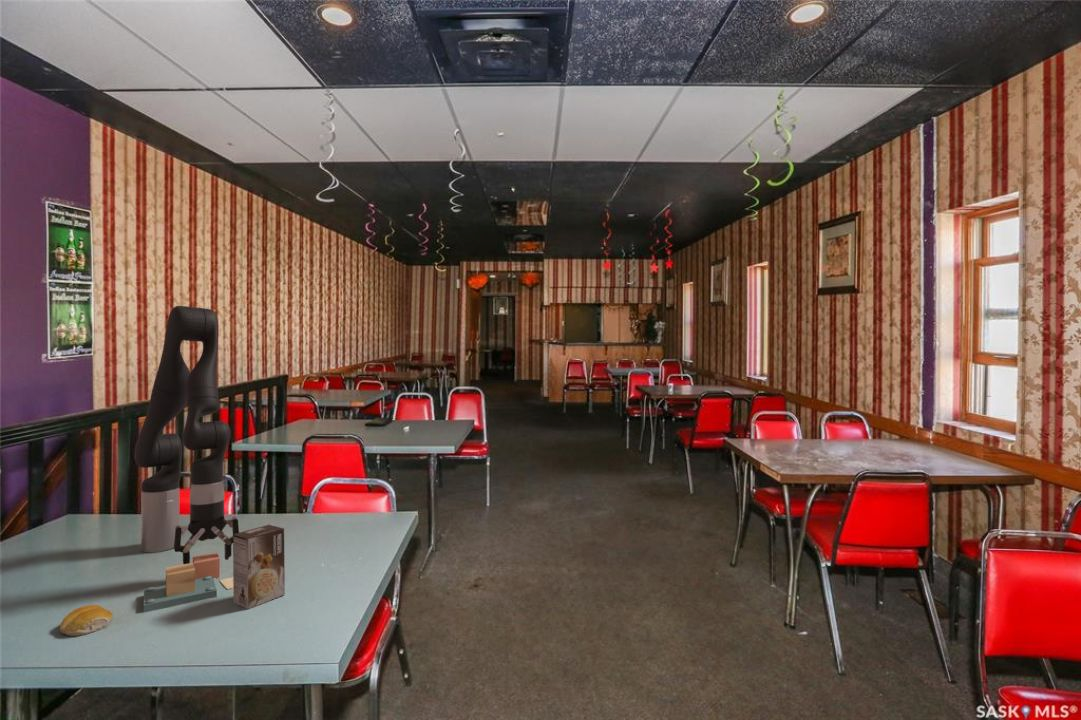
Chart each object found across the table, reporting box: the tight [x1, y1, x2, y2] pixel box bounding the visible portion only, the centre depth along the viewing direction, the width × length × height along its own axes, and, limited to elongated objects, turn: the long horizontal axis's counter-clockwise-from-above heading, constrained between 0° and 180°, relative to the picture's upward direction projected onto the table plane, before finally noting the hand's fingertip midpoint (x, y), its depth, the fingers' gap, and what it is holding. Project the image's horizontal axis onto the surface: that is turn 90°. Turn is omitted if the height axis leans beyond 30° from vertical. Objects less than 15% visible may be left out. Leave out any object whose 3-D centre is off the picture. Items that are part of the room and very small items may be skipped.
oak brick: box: [165, 562, 195, 597], centre depth 131 cm, size 6×6×5 cm
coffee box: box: [232, 524, 286, 610], centre depth 130 cm, size 9×6×16 cm
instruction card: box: [219, 576, 233, 591], centre depth 141 cm, size 7×10×1 cm
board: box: [143, 576, 218, 613], centre depth 131 cm, size 10×14×2 cm
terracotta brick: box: [192, 552, 221, 580], centre depth 142 cm, size 6×6×5 cm
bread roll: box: [59, 604, 114, 637], centre depth 116 cm, size 8×9×4 cm
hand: (207, 562), depth 142 cm, fingers open, 8 cm apart
